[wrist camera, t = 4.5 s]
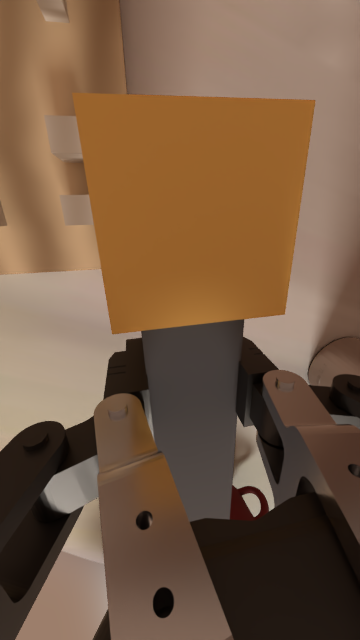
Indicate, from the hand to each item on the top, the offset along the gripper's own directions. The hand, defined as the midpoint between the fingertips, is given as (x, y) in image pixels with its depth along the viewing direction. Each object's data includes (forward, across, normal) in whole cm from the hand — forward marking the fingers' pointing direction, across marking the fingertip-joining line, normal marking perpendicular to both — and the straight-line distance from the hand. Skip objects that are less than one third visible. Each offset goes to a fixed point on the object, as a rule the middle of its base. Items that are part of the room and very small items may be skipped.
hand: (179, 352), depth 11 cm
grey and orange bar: (+1, 0, +2) cm, 2 cm away
